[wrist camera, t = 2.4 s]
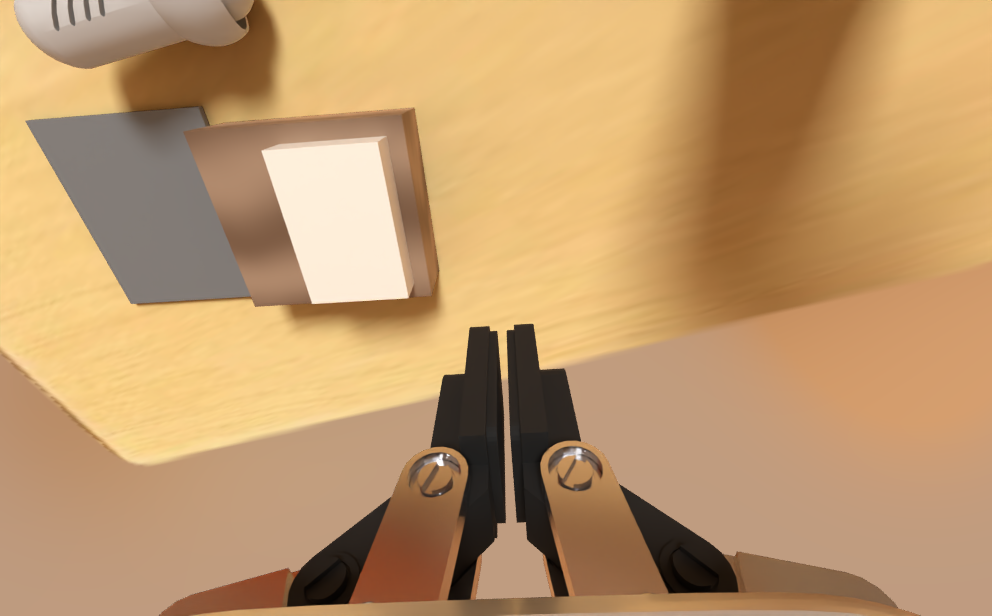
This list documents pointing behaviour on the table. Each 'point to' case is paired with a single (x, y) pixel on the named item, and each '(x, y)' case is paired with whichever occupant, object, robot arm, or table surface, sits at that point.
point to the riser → (255, 208)
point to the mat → (144, 201)
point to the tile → (343, 218)
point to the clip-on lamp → (127, 26)
